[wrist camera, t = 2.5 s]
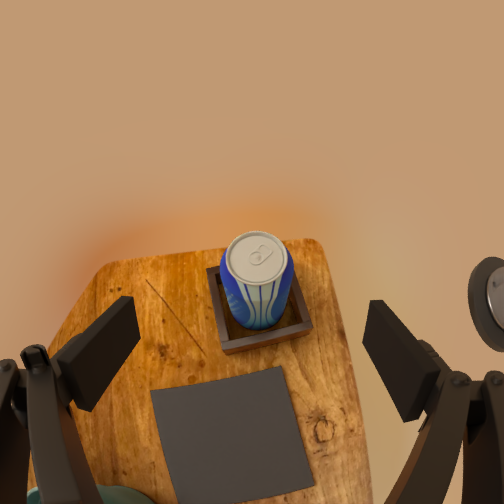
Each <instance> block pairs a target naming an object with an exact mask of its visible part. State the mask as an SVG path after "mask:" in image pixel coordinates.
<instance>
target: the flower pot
mask: <svg viewBox="0 0 504 504" xmlns="http://www.w3.org/2000/svg"><path fill="white" fill-rule="evenodd" d="M96 486H97V489H98V491H99V493H100V496H101V498H102V500H103V502H104V504H155V503H154V502H153V501H151V500H150V499H149V498H148V497H147V496H145V495H144V494H142V493H140V492H139V491H137V490H134V489H132V488H129V487H125V486H110V487H109V486H103V485H96ZM27 504H41V499H40V495H39V491H38V487H35V488H33V489H31V490H29V491H28V492H27Z"/></svg>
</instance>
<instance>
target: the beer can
mask: <svg viewBox="0 0 504 504" xmlns="http://www.w3.org/2000/svg"><path fill="white" fill-rule="evenodd" d="M293 273H294V264H293V259H292V257H291V255H290V253H289V251H288V250H287V248H286V247H285V246H284V245H283V243H282V242H281V241H280V240H279V239H278V238H277V237H275V236H273V235H272V234H269V233H267V232H262V231H251V232H247V233H244V234H242V235H240V236H238V237H237V238H235V239H234V240H233V241H232V243H231V244H230V246H229V247H228V248H227V249H226V251H225V252H224V254H223V256H222V259H221V262H220V275H221V279H222V283H223V286H224V290H225V293H226V297H227V300H228V304H229V307H230V310H231V313H232V316H233V317H234V319H235V320H236V321H237V322H238V323H239V324H240V325H241V326H243V327H245V328H247V329H251V330H264V329H267V328H270V327H272V326H273V325H275V324H276V323H277V322H278V321H279V320H280V319H281V317H282V315H283V313H284V310H285V306H286V302H287V298H288V294H289V290H290V286H291V282H292V278H293Z"/></svg>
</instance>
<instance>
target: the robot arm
mask: <svg viewBox="0 0 504 504" xmlns="http://www.w3.org/2000/svg"><path fill="white" fill-rule="evenodd" d="M485 297H486V303H487V307H488V310H489V313H490V316H491V318H492V319H493V321H494V323H495V324H496V325H497V326H498V328H500V329H501V330H502V331H504V267H501V268H498V269H497V270H495V271H494V272H492V273H491V274H490V275H489V277H488V279H487V281H486V286H485ZM140 339H141V337H140V332H139V327H138V322H137V316H136V311H135V305H134V299H133V297H131V296H121V297H120V298H119V299H118V300H117V301H116V302H114V303H113V304H112V305H111V306H110V307H109V308H108V309H107V310H106V311H105V312H104V313H103V314H102V315H101V316H100V317H99V318H97V319H96V320H95V321H94V322H93V323H92V324H91V325H90V326H89V327H88V328H87V329H86V330H85V331H84V332H83V333H80V334H78V335H76V336H74V337H72V338H71V339H70V340H69V341H68V342H67V344H65V345H64V346H63V347H62V348H61V349H60V350H59V351H58V352H57V353H56V354H55V355H54V356H53V357H52V358H51V359H49V357H48V354H47V351H46V349H45V347H44V346H43V345H39V344H36V345H31V346H28V347H26V348H25V349H24V350H23V351H22V352H21V354H20V356H21V358H22V361H23V363H24V366H25V368H26V369H18V367H17V364H16V362H15V361H14V360H13V359H4V360H1V361H0V504H27V483H28V469H29V458H30V450H31V454H32V460H33V466H34V472H35V477H36V482H37V486H38V491H39V495H40V499H41V504H104V502H103V500H102V498H101V496H100V493H99V491H98V489H97V486H96V484H95V481H94V479H93V476H92V473H91V471H90V468H89V465H88V463H87V460H86V457H85V454H84V451H83V448H82V444H81V441H80V438H79V434H78V431H77V427H76V423H75V420H74V416H73V412H72V408H71V406H70V402H71V401H72V400H74V402H75V404H76V406H77V408H79V409H82V410H85V411H88V412H92V410H93V408H94V407H95V405H96V404H97V402H98V401H99V399H100V398H101V396H102V395H103V393H104V392H105V390H106V389H107V387H108V385H109V384H110V382H111V381H112V379H113V378H114V376H115V375H116V374H117V372H118V371H119V369H120V368H121V366H122V365H123V363H124V362H125V360H126V359H127V357H128V356H129V354H130V353H131V352H132V350H133V349H134V347H135V346H136V344H137V343H138V341H139V340H140ZM362 343H363V345H364V347H365V349H366V351H367V352H368V354H369V356H370V358H371V360H372V362H373V363H374V365H375V367H376V369H377V371H378V373H379V375H380V377H381V379H382V381H383V382H384V384H385V386H386V388H387V390H388V392H389V394H390V396H391V398H392V400H393V402H394V404H395V406H396V408H397V410H398V412H399V414H400V416H401V418H402V420H403V422H404V423H405V422H409V421H413V420H417V419H419V417H420V415H421V413H422V411H423V410H424V411H425V413H426V414H427V416H426V418H425V420H424V422H423V424H422V426H421V428H420V429H419V431H418V432H420V433H419V435H418V438H417V440H416V442H415V445H414V447H413V449H412V451H411V454H410V456H409V458H408V460H407V462H406V464H405V466H404V468H403V470H402V472H401V474H400V476H399V478H398V480H397V482H396V483H395V485H394V487H393V489H392V491H391V493H390V494H389V496H388V498H387V499H386V501H385V503H384V504H442V503H443V501H444V498H445V496H446V493H447V490H448V487H449V485H450V482H451V478H452V476H453V473H454V469H455V466H456V463H457V459H458V456H459V452H460V448H461V443H462V440H463V489H462V502H461V504H504V374H503V373H502V372H500V371H490V372H487V374H486V375H485V378H484V380H483V381H472V380H471V378H470V377H469V376H468V375H467V374H465V373H463V372H460V371H452V370H451V369H450V368H449V366H448V365H447V364H446V363H445V362H444V360H443V359H442V358H441V357H439V355H438V353H437V352H435V350H434V349H433V348H432V346H431V345H430V344H428V343H427V342H425V341H423V340H417V339H416V338H415V337H414V336H413V334H412V333H411V332H410V331H409V330H408V329H407V327H406V326H405V325H404V324H403V323H402V322H401V320H400V319H399V318H398V317H397V316H396V315H395V314H394V312H393V311H392V310H391V309H390V308H389V307H388V306H387V304H386V303H385V302H384V301H383V300H370V304H369V310H368V316H367V321H366V326H365V332H364V336H363V341H362ZM11 403H12V406H11Z"/></svg>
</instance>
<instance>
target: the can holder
mask: <svg viewBox="0 0 504 504" xmlns="http://www.w3.org/2000/svg"><path fill="white" fill-rule="evenodd" d="M206 272H207V277H208V283H209V288H210V293H211V298H212V303H213V308H214V313H215V318H216V323H217V327H218V332H219V337H220V341H221V346H222V350H223V352H224V353H225V355H229V354H234V353H238V352H243V351H247V350H251V349H256V348H260V347H264V346H268V345H272V344H276V343H279V342H283V341H287V340H291V339H294V338H298V337H301V336H305V335H308V334H309V333H310V332H311V330H312V329H313V325H312V322H311V319H310V316H309V313H308V310H307V307H306V304H305V301H304V298H303V295H302V292H301V289H300V286H299V283H298V280H297V277H296V274H295V271H294V273H293V278H292V282H291V286H290V290H289V294H288V295H289V298H290V301H291V304H292V307H293V310H294V314H295V317H296V320H297V323H298V324H295V325H291V326H288V327H284V328H280V329H276V330H272V331H268V332H264V333H260V334H256V335H252V336H248V337H243V338H239V339H235V340H230V336H229V331H228V327H227V323H226V318H225V313H224V309H223V304H222V300H221V295H220V290H219V285H218V284H221V283H222V279H221V275H220V266H216V267H211V268H207V269H206Z"/></svg>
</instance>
